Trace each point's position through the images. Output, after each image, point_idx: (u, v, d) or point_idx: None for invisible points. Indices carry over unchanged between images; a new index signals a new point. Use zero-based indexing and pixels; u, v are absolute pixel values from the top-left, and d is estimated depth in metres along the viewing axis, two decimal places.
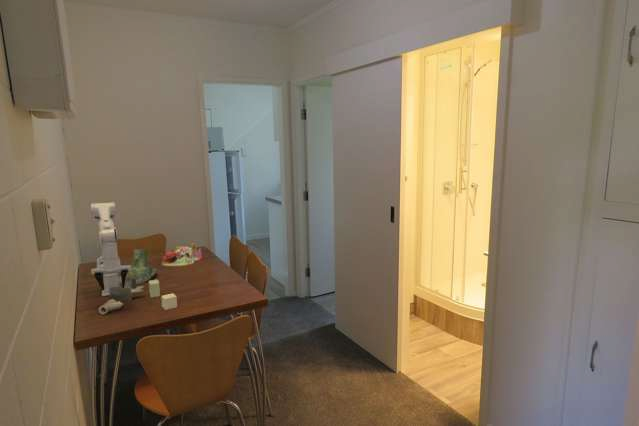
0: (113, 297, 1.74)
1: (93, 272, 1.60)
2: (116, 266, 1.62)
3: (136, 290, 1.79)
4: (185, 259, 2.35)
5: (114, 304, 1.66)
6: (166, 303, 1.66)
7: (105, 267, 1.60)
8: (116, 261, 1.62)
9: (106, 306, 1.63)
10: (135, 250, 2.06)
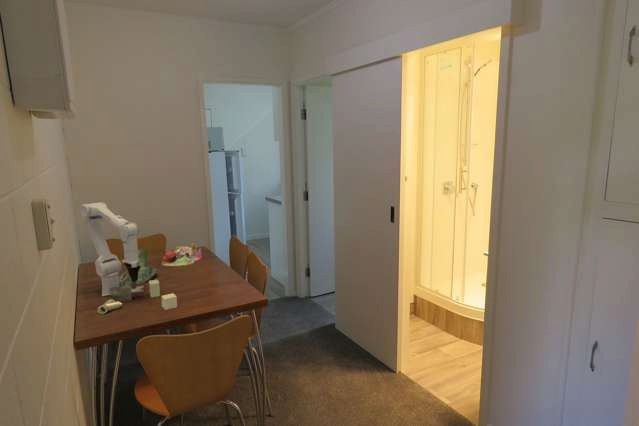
0: (113, 297, 1.74)
1: None
2: (128, 259, 1.74)
3: (136, 290, 1.79)
4: (185, 259, 2.35)
5: (113, 304, 1.66)
6: (166, 303, 1.66)
7: None
8: (128, 255, 1.74)
9: (105, 306, 1.63)
10: None
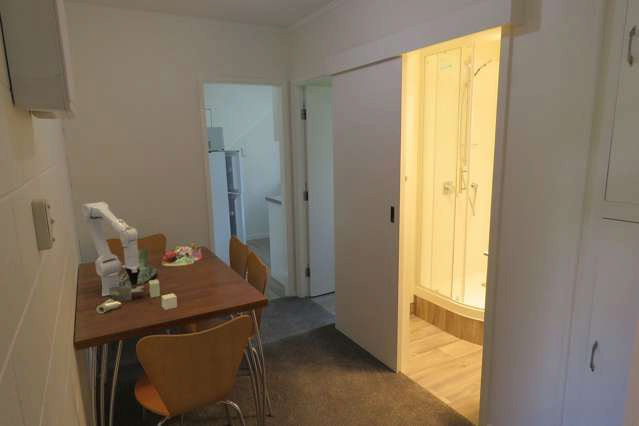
0: (113, 297, 1.74)
1: None
2: (128, 264, 1.75)
3: (136, 290, 1.79)
4: (185, 259, 2.35)
5: (112, 304, 1.66)
6: (166, 303, 1.66)
7: None
8: (128, 260, 1.74)
9: (104, 306, 1.64)
10: None
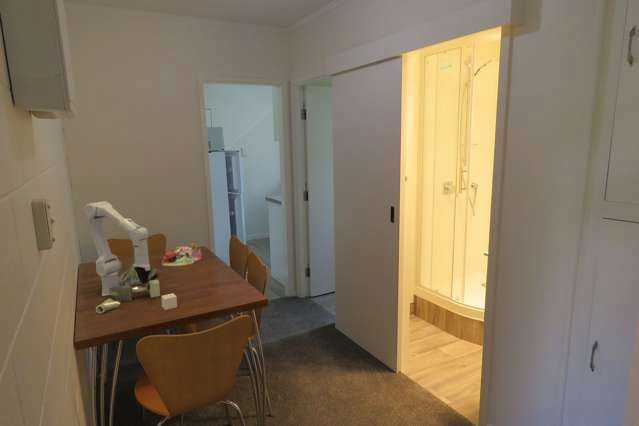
0: (113, 297, 1.74)
1: None
2: (139, 263, 1.77)
3: (145, 288, 1.81)
4: (185, 259, 2.35)
5: (111, 303, 1.67)
6: (166, 303, 1.66)
7: None
8: (140, 259, 1.77)
9: (103, 305, 1.64)
10: None
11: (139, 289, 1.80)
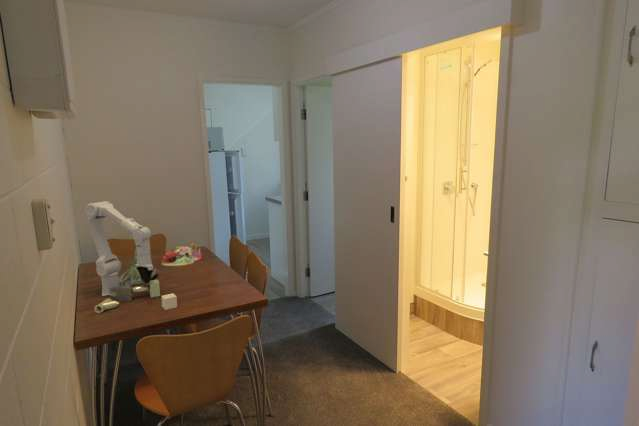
0: (113, 297, 1.74)
1: (137, 262, 1.84)
2: (142, 263, 1.77)
3: (148, 288, 1.81)
4: (185, 259, 2.35)
5: (110, 303, 1.67)
6: (166, 303, 1.66)
7: None
8: (142, 258, 1.77)
9: (101, 305, 1.64)
10: (135, 250, 2.06)
11: (141, 289, 1.80)
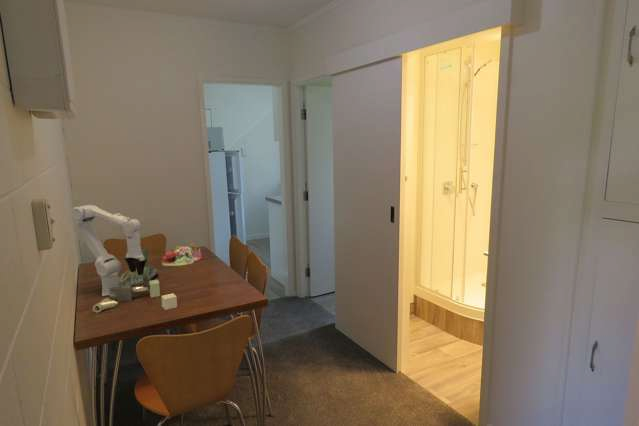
0: (113, 297, 1.74)
1: (126, 255, 1.86)
2: (133, 254, 1.79)
3: (148, 288, 1.81)
4: (185, 259, 2.35)
5: (108, 303, 1.67)
6: (166, 303, 1.66)
7: None
8: (133, 249, 1.79)
9: (100, 305, 1.65)
10: None
11: (141, 289, 1.80)
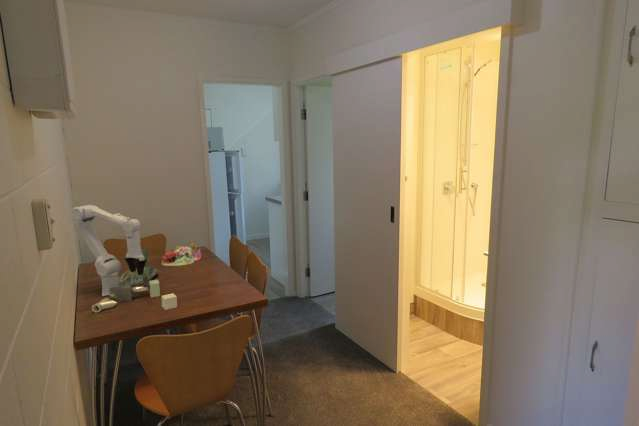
0: (113, 297, 1.74)
1: (126, 255, 1.86)
2: (133, 254, 1.79)
3: (148, 288, 1.81)
4: (185, 259, 2.35)
5: (107, 303, 1.68)
6: (166, 303, 1.66)
7: None
8: (133, 249, 1.79)
9: (99, 305, 1.65)
10: None
11: (141, 289, 1.80)
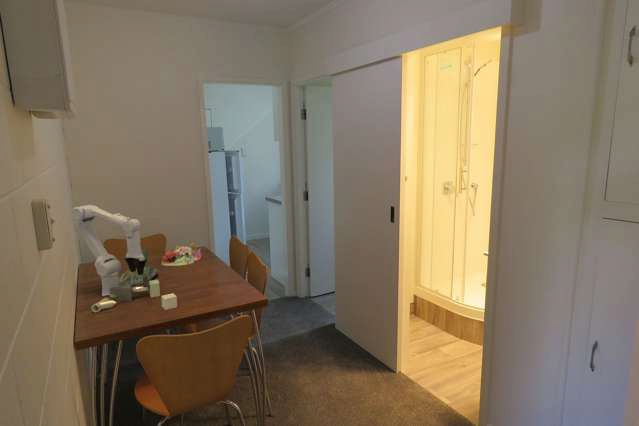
0: (113, 297, 1.74)
1: (126, 255, 1.86)
2: (133, 254, 1.79)
3: (148, 288, 1.81)
4: (184, 259, 2.35)
5: (107, 303, 1.68)
6: (166, 303, 1.66)
7: None
8: (133, 249, 1.79)
9: (99, 304, 1.65)
10: None
11: (141, 289, 1.80)
